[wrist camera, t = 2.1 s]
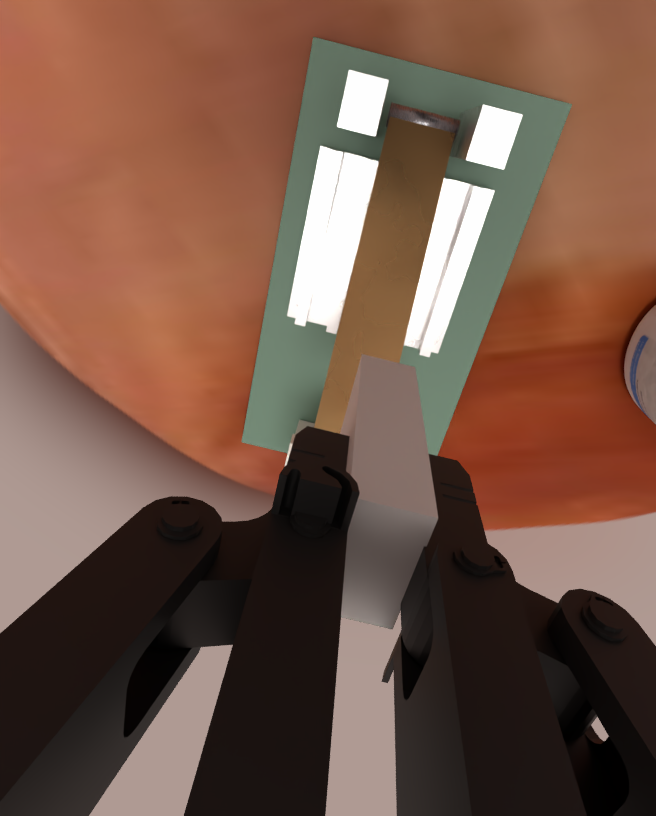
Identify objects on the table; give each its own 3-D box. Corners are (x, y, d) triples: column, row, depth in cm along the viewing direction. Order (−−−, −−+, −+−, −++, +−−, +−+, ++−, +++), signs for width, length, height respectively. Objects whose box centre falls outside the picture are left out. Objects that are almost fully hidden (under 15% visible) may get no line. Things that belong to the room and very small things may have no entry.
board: (315, 40, 27) (313, 36, 26) (565, 105, 27) (572, 104, 26) (244, 434, 37) (241, 442, 36) (424, 478, 38) (425, 486, 37)
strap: (389, 110, 25) (392, 97, 24) (455, 127, 25) (462, 115, 24) (309, 435, 24) (309, 436, 23) (377, 451, 24) (380, 453, 23)
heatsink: (336, 80, 26) (323, 63, 21) (511, 125, 27) (547, 121, 21) (290, 309, 32) (270, 346, 26) (435, 345, 32) (447, 390, 26)
